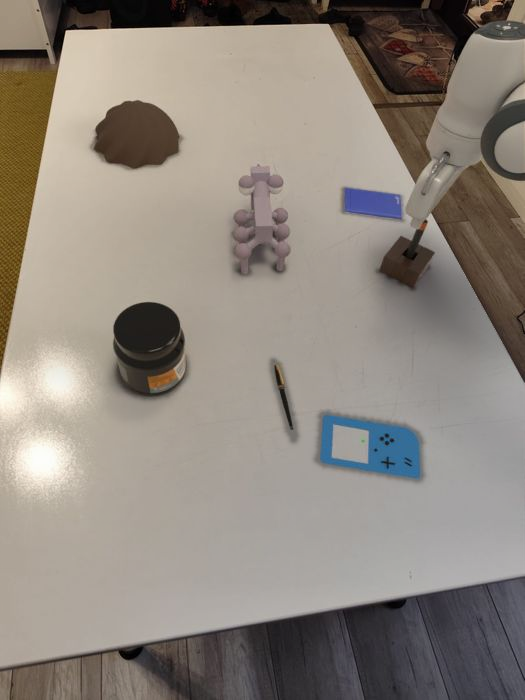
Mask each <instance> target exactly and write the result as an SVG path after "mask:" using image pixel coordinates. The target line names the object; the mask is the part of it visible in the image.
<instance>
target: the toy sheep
mask: <svg viewBox="0 0 525 700" xmlns="http://www.w3.org/2000/svg"><path fill="white" fill-rule="evenodd" d="M284 183H285V182H284V179H283V177H282V176H281V175H280V174H276V173H274V174H271V168H270V165H263V166H262V165H260V164H259V163H257V165H256V166H253V165H252V166H251V165H250V175H247V174H246V175H242V176H241V177H240V178H239V180H238V186H237V187H238V191H239V193H240V194H241V195H243V196H246V197H247V196H250V206H251V207H250V208H251V209H250V210H251V211H253V212H248V211H247V210H245V209H238V210H236V211H235V212H234V214H233V221H234V223H235V224H236V225H238V227H236V228H235V229H234V231H233V239H234V240H235V241H236V242H237V243H238V244H237V245H236V247H235V248H234V253H235V256H236V258H238V259H239V260H240V272H241V274H243V275H247V274H249V261H248V259H249V258H250V257H251V256H252V250H253V249H254V248H256V247H257V246H258V245H260V244H261V245H262V244H263V245H264V244H267V245H269V246H270V247H271V248H273V250H274V254H275V255H276V256H277V261H276V268H275V269H276V270H277V272H282V271H284V269H285V268H284V267H285V262H286V258H287V257H288V256H289V255H290V254H291V251H292V248H291V245H290V244H289V242H288V241H285V240H287V239H288V238H289V237H290V235H291V229H290V227H289V225H287V224H286V222H287V220H288V217H289V213H288V211H287V209H286V208H283V207H278V208H275V209H274V211H272V203H271V197H270V196H271V194H272V195H279V194H281V192H283V190H284ZM249 221H253V225H252V226H250V227H246V225H247V224H248V223H249ZM273 221H274V222H273ZM252 235H254V237H253V238H252V239H251V240H249V239H250V236H252ZM273 236H275V237H276V239H274V237H273ZM248 240H249V242H247V241H248Z"/></svg>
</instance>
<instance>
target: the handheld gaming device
mask: <svg viewBox="0 0 525 700" xmlns="http://www.w3.org/2000/svg"><path fill="white" fill-rule="evenodd" d="M334 425H335V426H341V427H346V428H352V429H356V430H363V431H368V447H367V448H368V449H367V450H368V453H367V463H366V462H360V461H355V460H349V459H341V458H336V457H333V442H334V441H333V438H334ZM419 442H420V441H419V439H418V436H417V435H416V433H415V432H413V431H412V430H411V429H409V428H407V427H404V426H399V425H392V424H387V423H379V422H374V421H368V420H362V419H355V418H350V417H344V416H343V417H342V416H337V415H331V414H325V415H323V417H322V428H321V442H320V453H319V454H320V456H319V460H320V462H321V463H323V464H325V465H331V466H336V467H337V466H338V467H343V468H348V469H349V468H350V469H351V468H352V469H356V470H362V471H367V472H375V473H381V474H385V475H386V474H387V475H393V476H399V477H403V478H405V477H406V478H411V479H420V478H421V461H420V443H419ZM361 443H365V439H361Z"/></svg>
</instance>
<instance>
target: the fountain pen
mask: <svg viewBox="0 0 525 700" xmlns="http://www.w3.org/2000/svg"><path fill="white" fill-rule="evenodd" d="M273 367H274V375H275V380H276V384H277V389H278V391H279V394H280V398H281V402H282V405H283V409H284V413H285V415H286V420H287V422H288V425H289V430H291V431H292V430H294V426H293V421H292V420H293V419H292V416H291V412H290V411H291V410H290V407H289V402H288V398H287V394H286V390H285V381H284V378H283V375H282V372H281V369H280V366H279V364H274V366H273Z"/></svg>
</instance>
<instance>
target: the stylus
mask: <svg viewBox="0 0 525 700" xmlns="http://www.w3.org/2000/svg"><path fill="white" fill-rule="evenodd" d="M428 223H429V220H427V219H426V220H425V221H424V222H423V225H422V226H421V227H420V229H415V232H414V233H413V236H412V239H411V243H410V246H409V248H408V251H407V253H406V255H405V257H407V258H409V259H411V260H412V258H413V256H414V253H415V251H416V249H417V246H418V244H419V245H420V242H421V240H422V237H423V235H424V232H425V230H426V228H427V226H428Z"/></svg>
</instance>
